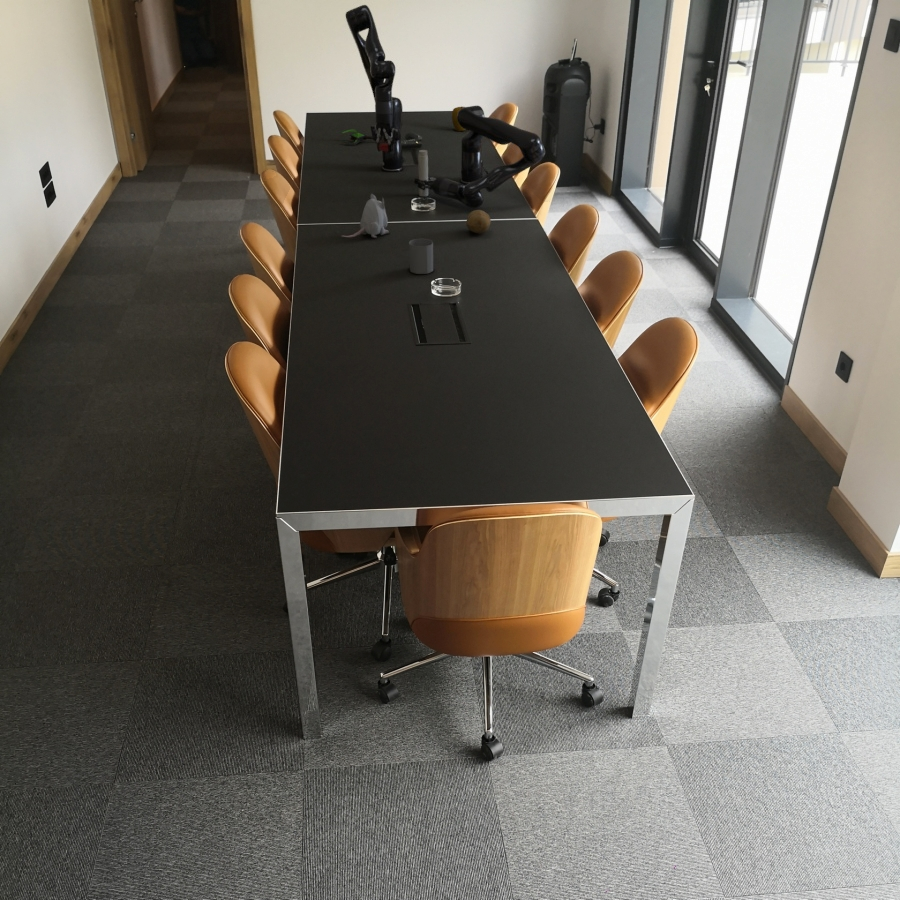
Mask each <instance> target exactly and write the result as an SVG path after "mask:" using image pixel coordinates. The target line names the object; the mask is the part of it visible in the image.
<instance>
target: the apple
mask: <svg viewBox="0 0 900 900" xmlns="http://www.w3.org/2000/svg"><path fill="white" fill-rule="evenodd" d="M465 107H466V106H462V105H461V106H457V107H454V108H452V111H451V121H452V125H453V128H454V129H455V131H457V132H463V131H467V130H466V129H464V128H462V127H461V126H460V124H459V123H458V120H457V114H458V112H459V111H460V110H461V109H462V108H465Z"/></svg>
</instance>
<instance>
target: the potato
mask: <svg viewBox="0 0 900 900" xmlns="http://www.w3.org/2000/svg"><path fill="white" fill-rule="evenodd" d="M465 223H466V227H467V228H468V229H469V231H471V232H472V233H475V234H484V233H485V232H486V231H488V230H489V228H490V225H491V223H492V221H491V217H490V215H489V214H488V213H487V212H485V211H484V210H482V209H474V210H473V211H471V212H470V213H469V214H468V216H467V219H466V222H465Z"/></svg>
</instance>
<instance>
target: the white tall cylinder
mask: <svg viewBox="0 0 900 900" xmlns="http://www.w3.org/2000/svg"><path fill="white" fill-rule="evenodd" d="M417 162H418V164H417V167H418V168H417V169H418V171H417V172H418V179H420V180H428V177H429V155H428V149H427V150H426V149H420V150H418V156H417ZM423 183H424V182H423ZM418 196H419V197H428V196H429V189H428V188H425V190H422V189H420V188H419V187H418Z"/></svg>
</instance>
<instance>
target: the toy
mask: <svg viewBox="0 0 900 900" xmlns="http://www.w3.org/2000/svg"><path fill="white" fill-rule="evenodd" d="M359 227H360V229H359V230H358V231H357V232H355V233H353V234H350V235H341V237H342V238H355V237H357V236H359V235H365V236H366V235H367V234H368V235H371V238H374V239H377V238H378V236H377V235H381V236H382V235H383V236H384V235H387V234H389V233H390V231H389V230H388V229H386V228H387V227H388V215H387V211H386V207H385V200H384V197H382V200H377V197H376V195H375V194H373V193H371V194H370V198H369V199H368V200H367V201H366V202H365V205H364V208H363V212H362V215H361V219H360V221H359Z"/></svg>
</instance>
